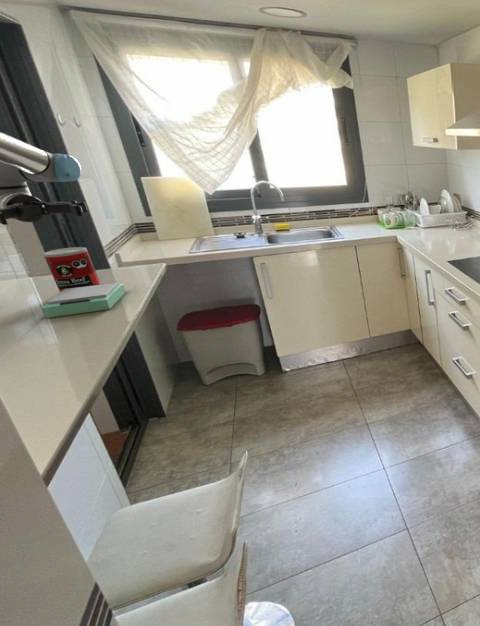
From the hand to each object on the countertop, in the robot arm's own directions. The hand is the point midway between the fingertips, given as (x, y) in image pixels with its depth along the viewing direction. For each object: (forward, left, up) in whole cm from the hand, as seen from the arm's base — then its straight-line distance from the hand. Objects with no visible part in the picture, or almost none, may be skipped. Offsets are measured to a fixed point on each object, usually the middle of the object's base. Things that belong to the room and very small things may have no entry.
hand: (42, 214), depth 117 cm
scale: (+9, -22, -19) cm, 30 cm away
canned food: (+4, -9, -19) cm, 22 cm away
